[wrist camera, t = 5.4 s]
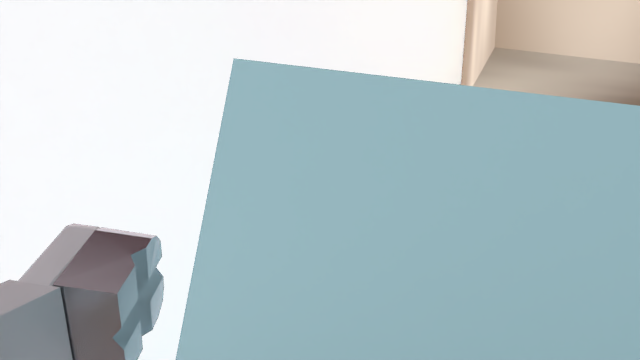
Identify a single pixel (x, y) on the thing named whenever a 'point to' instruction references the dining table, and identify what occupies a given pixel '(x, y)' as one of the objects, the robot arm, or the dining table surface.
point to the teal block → (415, 223)
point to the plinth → (555, 48)
